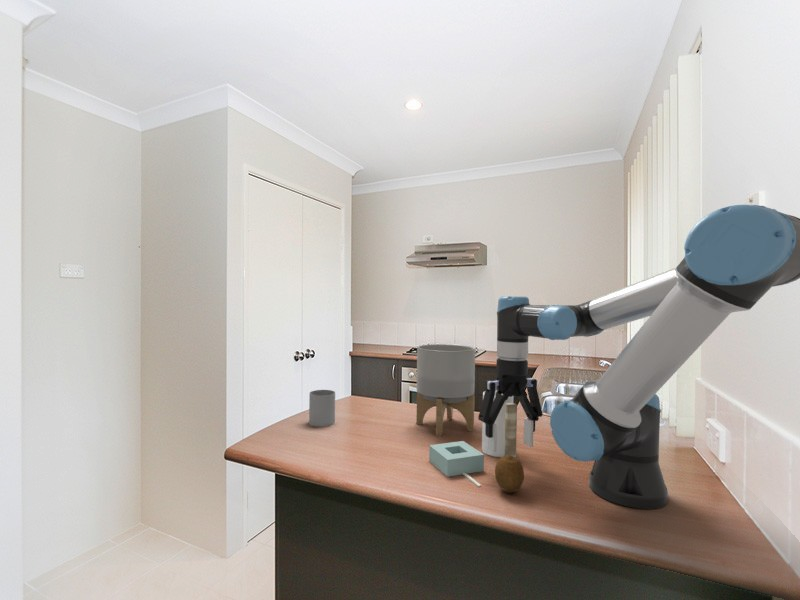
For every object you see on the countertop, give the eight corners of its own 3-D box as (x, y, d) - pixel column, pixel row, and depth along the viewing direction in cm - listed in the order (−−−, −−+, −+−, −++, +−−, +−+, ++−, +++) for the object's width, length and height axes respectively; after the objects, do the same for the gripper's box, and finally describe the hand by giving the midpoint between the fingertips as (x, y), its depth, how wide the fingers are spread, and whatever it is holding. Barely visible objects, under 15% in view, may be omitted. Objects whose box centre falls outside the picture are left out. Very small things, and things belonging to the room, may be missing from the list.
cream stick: (481, 486, 93) (481, 485, 93) (478, 487, 92) (478, 485, 92) (465, 473, 99) (465, 472, 99) (462, 474, 99) (462, 472, 99)
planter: (424, 415, 147) (425, 342, 147) (477, 421, 141) (478, 345, 141) (408, 432, 129) (410, 349, 129) (469, 439, 123) (470, 352, 123)
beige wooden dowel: (518, 470, 102) (519, 405, 102) (508, 471, 101) (509, 406, 101) (511, 465, 104) (512, 402, 104) (501, 467, 103) (503, 403, 103)
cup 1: (308, 419, 140) (308, 390, 140) (332, 418, 142) (333, 389, 142) (310, 427, 132) (311, 396, 132) (336, 425, 134) (336, 394, 134)
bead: (483, 470, 101) (483, 454, 101) (447, 476, 97) (447, 459, 97) (463, 455, 110) (463, 440, 110) (429, 460, 107) (429, 445, 107)
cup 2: (513, 458, 109) (514, 398, 109) (481, 455, 111) (482, 396, 111) (511, 447, 117) (512, 391, 117) (482, 444, 119) (483, 389, 119)
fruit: (488, 491, 91) (489, 454, 90) (504, 482, 95) (504, 447, 95) (514, 501, 86) (515, 463, 86) (529, 491, 90) (529, 455, 90)
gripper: (538, 354, 110) (537, 437, 110) (464, 357, 102) (462, 447, 102) (559, 358, 103) (557, 447, 103) (481, 362, 95) (479, 459, 95)
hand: (510, 447), depth 103 cm, fingers open, 10 cm apart
